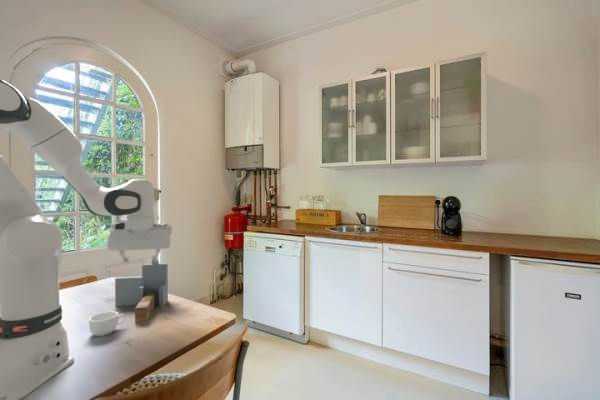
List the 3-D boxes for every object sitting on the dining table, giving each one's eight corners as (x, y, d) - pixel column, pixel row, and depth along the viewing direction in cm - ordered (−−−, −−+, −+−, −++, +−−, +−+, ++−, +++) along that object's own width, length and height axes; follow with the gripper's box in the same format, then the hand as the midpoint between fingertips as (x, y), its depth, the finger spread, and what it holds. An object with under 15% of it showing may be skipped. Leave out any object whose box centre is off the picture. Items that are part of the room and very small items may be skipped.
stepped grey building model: (163, 307, 111) (162, 261, 111) (110, 310, 108) (109, 263, 108) (168, 301, 118) (167, 257, 117) (118, 303, 114) (117, 259, 114)
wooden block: (146, 321, 99) (146, 303, 99) (135, 322, 98) (134, 304, 98) (156, 304, 114) (156, 289, 114) (146, 305, 113) (146, 290, 113)
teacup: (91, 341, 85) (91, 323, 85) (86, 332, 91) (86, 316, 91) (128, 330, 93) (128, 314, 92) (122, 322, 98) (122, 307, 98)
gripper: (172, 222, 110) (172, 258, 111) (111, 223, 104) (111, 261, 104) (170, 224, 104) (170, 261, 105) (106, 225, 98) (105, 265, 98)
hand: (140, 261), depth 104 cm, fingers open, 8 cm apart
